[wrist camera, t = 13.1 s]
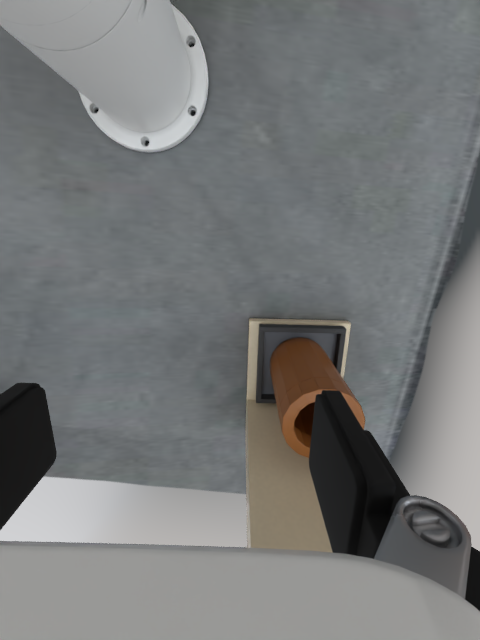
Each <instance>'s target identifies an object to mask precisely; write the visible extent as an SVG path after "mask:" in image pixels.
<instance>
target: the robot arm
mask: <svg viewBox="0 0 480 640" xmlns="http://www.w3.org/2000/svg"><path fill="white" fill-rule="evenodd" d="M0 26H1V27H3V28H4V29H5V30H6V31H7V32H9V33H10V34H11V35H12V36H13V37H15V38H16V39H17V40H18V41H19V42H21V43H22V44H23V45H24V46H25V47H27V48H28V49H29V50H30V51H31V52H33V53H34V54H35V55H36V56H37V57H39V58H40V59H41V60H42V61H43V62H45V63H46V64H47V65H48V66H49V67H50V68H52V69H53V70H54V71H55V72H56V73H58V74H59V75H60V76H61V77H62V78H64V79H65V80H66V81H67V82H68V83H70V84H71V85H72V86H73V87H74V88H76V89H77V90H78V91H79V94H80V97H81V100H82V102H83V105H84V106H85V108H86V110H87V112H88V114H89V116H90V117H91V118H92V120H93V121H94V122H95V124H96V125H97V126H98V127H99V128H100V129H101V130H102V131H103V132H104V133H105V134H106V135H107V136H108V137H110V138H111V139H113V140H114V141H115V142H117V143H119V144H121V145H123V146H124V147H126V148H129V149H132V150H135V151H139V152H150V153H152V152H159V151H164V150H167V149H169V148H172V147H174V146H176V145H177V144H179V143H180V142H182V141H183V140H184V139H186V138H187V137H188V136H189V135H190V134H191V133H192V131H193V130H194V128H195V127H196V125H197V124H198V123H199V121H200V118H201V116H202V114H203V112H204V109H205V105H206V101H207V97H208V85H209V79H208V68H207V63H206V58H205V54H204V51H203V48H202V45H201V42H200V39H199V38H198V36H197V34H196V32H195V30H194V28H193V26H192V25H191V24H190V23H189V21H188V20H187V19H186V17H185V16H184V15H183V14H182V13H181V12H180V11H179V10H178V9H177V8H175V7H174V6H173V5H172V4H171V3H170V0H0ZM191 44H194V46H193V47H190V45H191ZM97 109H99V111H98V112H97V113H96V110H97ZM193 111H194V112H196V114H195V115H194V116H192V115H191V113H192V112H193ZM147 141H149V145H148V146H146V142H147ZM55 459H56V447H55V442H54V437H53V431H52V426H51V421H50V416H49V410H48V405H47V400H46V394H45V390H44V389H43V388H41V387H40V385H39V384H37V383H17V384H15V385H14V386H12V387H11V388H9V389H8V390H6V391H5V392H4V393H2V394H1V395H0V530H1V529H2V527H3V526H4V525H5V524H6V522H7V521H8V520H9V519H10V517H11V516H12V515H13V514H14V512H15V511H16V510H17V509H18V507H19V506H20V504H21V503H22V502H23V501H24V500H25V498H26V497H27V496H28V495H29V493H30V492H31V491H32V490H33V488H34V487H35V486H36V485H37V484H38V482H39V481H40V480H41V478H42V477H43V476H44V475H45V474H46V472H47V471H48V470H49V469H50V467H51V466H52V465H53V463H54V461H55ZM309 468H310V473H311V476H312V480H313V483H314V487H315V491H316V494H317V498H318V501H319V505H320V509H321V512H322V516H323V519H324V523H325V527H326V530H327V534H328V537H329V541H330V545H331V548H332V552H333V553H331V552H320V551H308V550H288V549H267V548H245V547H244V548H243V547H211V546H179V545H147V544H146V545H145V544H107V543H105V544H104V543H65V542H19V541H0V640H480V551H478V550H476V549H474V548H473V547H471V536H470V534H469V532H468V530H467V528H466V526H465V525H464V523H463V522H462V521H461V520H460V519H459V517H458V516H457V515H455V514H454V513H453V512H452V511H450V510H449V509H448V508H447V507H445V506H443V505H442V504H440V503H438V502H436V501H434V500H431V499H428V498H426V497H421V496H410V494H409V493H408V491H407V490H406V488H405V486H404V485H403V483H402V482H401V480H400V478H399V477H398V475H397V474H396V472H395V470H394V469H393V467H392V466H391V464H390V463H389V461H388V459H387V458H386V456H385V455H384V453H383V451H382V450H381V448H380V447H379V445H378V443H377V442H376V440H375V439H374V437H373V435H372V434H371V433H370V432H369V431H367V430H363V428H362V427H361V425H360V423H359V422H358V420H357V418H356V417H355V415H354V413H353V412H352V410H351V408H350V407H349V405H348V403H347V402H346V400H345V398H344V397H343V395H342V393H341V392H340V391H338V390H323V391H322V392H321V394H317V395H316V398H315V407H314V416H313V425H312V435H311V444H310V453H309Z"/></svg>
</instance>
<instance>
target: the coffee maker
mask: <svg viewBox="0 0 480 640" xmlns="http://www.w3.org/2000/svg"><path fill="white" fill-rule="evenodd" d="M350 327H351V323H350V322H349V321H341V320H299V319H257V318H249V338H248V369H247V399H246V429H245V431H246V496H247V548H267V549H288V550H308V551H320V552H331V553H333V552H332V548H331V545H330V541H329V537H328V534H327V530H326V527H325V523H324V519H323V516H322V512H321V509H320V505H319V501H318V498H317V494H316V491H315V487H314V483H313V480H312V476H311V473H310V468H309V458H307V457H305V456H302V455H299V454H298V453H296V452H295V451H294V450H293V449H292V448H291V447H290V446H289V445H287V443H286V441H285V438H284V436H283V433H282V429H281V424H280V419H279V414H278V409H277V404H276V399H275V394H274V389H273V383H272V378H271V373H270V359H271V356H272V353H273V352H274V350H275V349H276V347H277V346H279V345H280V344H281V343H282V342H284V341H286V340H288V339H291V338H296V337H302V338H308V339H311V340H313V341H315V342H316V343H318V344H319V345H320V346H321V348H322V349H323V350H324V351H325V353H326V354H327V356H328V357H329V359H330V360H331V362H332V363H333V365H334V366H335V368H336V369H337V371H338V372H339V374H340V375H341V377H342V378H344V371H345V364H346V356H347V349H348V342H349V334H350Z"/></svg>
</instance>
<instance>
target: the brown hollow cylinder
mask: <svg viewBox="0 0 480 640" xmlns="http://www.w3.org/2000/svg"><path fill="white" fill-rule="evenodd" d="M270 373H271V378H272V383H273V389H274V394H275V399H276V404H277V409H278V414H279V419H280V424H281V429H282V433H283V436H284V438H285V441H286V443H287V445H289V446H290V447H291V448H292V449H293V450H294V451H295V452H296V453H298V454H299V455H302V456H305V457H307V458H309V453H310V444H311V435H312V425H313V416H314V407H315V398H316V395H317V394H321V392H322V391H323V390H338V391H340V392H341V393H342V395H343V397H344V398H345V400H346V402H347V403H348V405H349V407H350V408H351V410H352V412H353V413H354V415H355V417H356V418H357V420H358V422H359V423H360V425H361V427H362V428H363V430H364V425H365V417H364V414H363V410H362V407H361V405H360V404H359V402H358V401H357V399H356V398H355V396H354V395H353V393H352V392H351V390H350V389H349V387H348V386H347V384H346V383H345V381H344V380H343V378H342V377H341V375H340V374H339V372H338V371H337V369H336V368H335V366H334V365H333V363H332V362H331V360H330V359H329V357H328V356H327V354H326V353H325V351H324V350H323V349H322V348H321V346H320V345H319V344H318V343H316V342H315V341H313V340H311V339H308V338H302V337H296V338H291V339H288V340H286V341H284V342H282V343H281V344H280V345H279V346H277V347H276V349H275V350H274V352H273V353H272V356H271V359H270Z"/></svg>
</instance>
